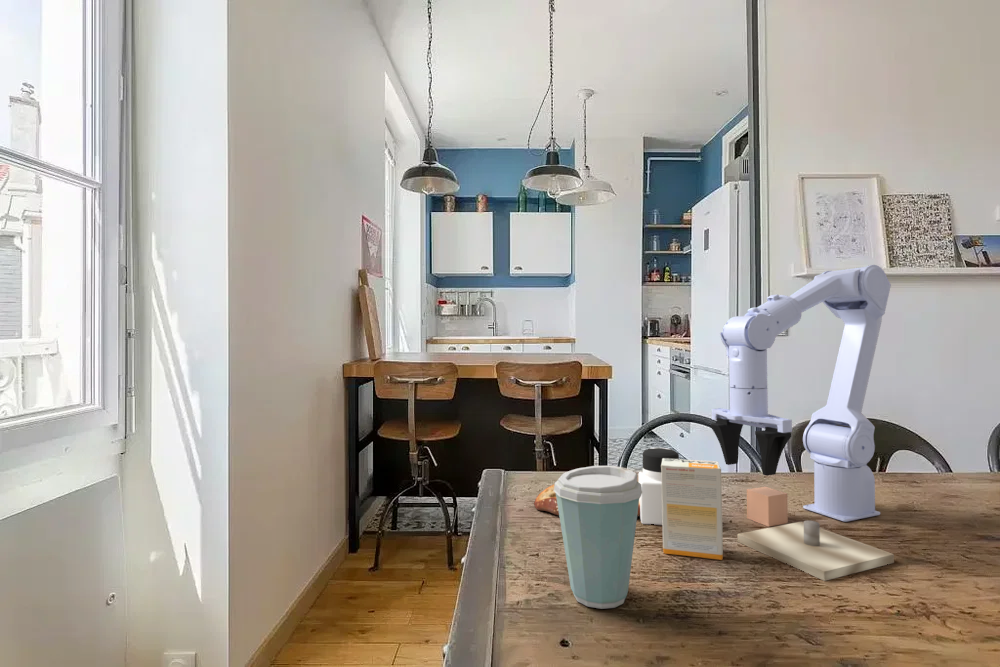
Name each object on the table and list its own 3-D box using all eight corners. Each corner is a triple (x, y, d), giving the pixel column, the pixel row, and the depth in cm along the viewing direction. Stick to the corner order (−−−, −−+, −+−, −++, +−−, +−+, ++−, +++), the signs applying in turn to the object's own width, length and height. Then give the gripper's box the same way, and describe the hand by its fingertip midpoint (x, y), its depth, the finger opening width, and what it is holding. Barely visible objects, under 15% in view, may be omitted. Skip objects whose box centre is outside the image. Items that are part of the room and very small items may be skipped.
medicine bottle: (685, 527, 86) (685, 454, 86) (641, 524, 88) (640, 453, 88) (679, 513, 93) (679, 446, 93) (638, 510, 95) (638, 444, 95)
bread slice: (664, 508, 94) (664, 487, 94) (596, 532, 83) (595, 509, 83) (590, 487, 109) (590, 469, 109) (524, 506, 98) (523, 485, 98)
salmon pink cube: (765, 514, 92) (765, 486, 92) (787, 523, 88) (787, 493, 88) (746, 518, 90) (746, 489, 91) (768, 526, 86) (768, 496, 86)
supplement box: (720, 548, 78) (719, 460, 78) (723, 561, 73) (722, 468, 73) (662, 541, 80) (662, 456, 80) (661, 554, 76) (660, 463, 76)
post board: (801, 528, 85) (801, 503, 85) (893, 562, 72) (893, 532, 72) (737, 541, 80) (737, 514, 80) (824, 580, 67) (824, 548, 67)
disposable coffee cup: (584, 627, 57) (584, 489, 57) (538, 584, 66) (537, 466, 67) (662, 607, 61) (661, 478, 61) (608, 569, 71) (607, 458, 71)
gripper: (697, 385, 92) (698, 462, 92) (768, 392, 79) (769, 482, 79) (728, 383, 95) (729, 457, 95) (800, 390, 81) (802, 477, 81)
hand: (749, 469), depth 87 cm, fingers open, 7 cm apart
